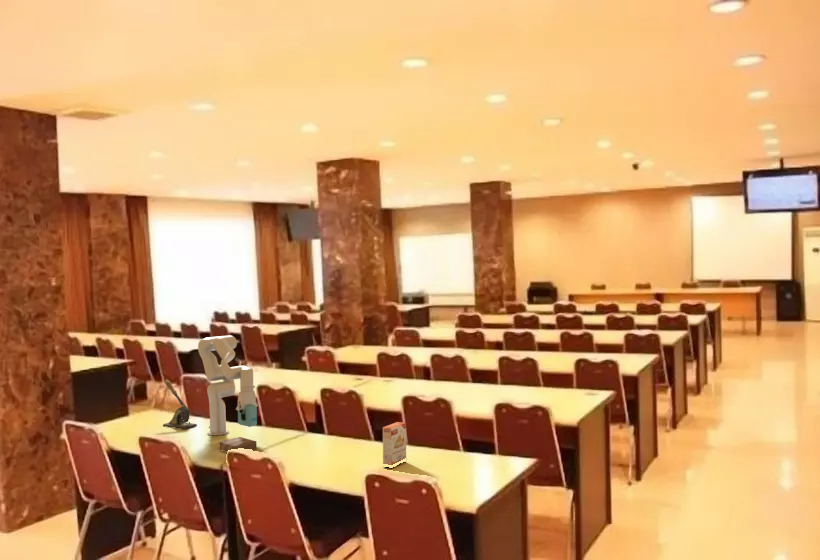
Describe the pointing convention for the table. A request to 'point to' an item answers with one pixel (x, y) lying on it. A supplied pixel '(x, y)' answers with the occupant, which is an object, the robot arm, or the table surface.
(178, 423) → the embossing press
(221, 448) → the walnut block
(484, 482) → the table surface
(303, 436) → the table surface
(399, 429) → the cracker box
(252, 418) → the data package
